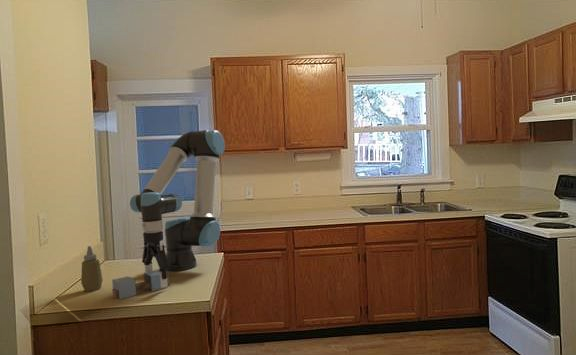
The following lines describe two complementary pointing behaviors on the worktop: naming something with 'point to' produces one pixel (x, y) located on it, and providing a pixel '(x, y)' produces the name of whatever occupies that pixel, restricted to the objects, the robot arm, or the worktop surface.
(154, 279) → the grey cube block
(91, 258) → the squeeze bottle
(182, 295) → the worktop surface
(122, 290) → the slider block
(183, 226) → the robot arm
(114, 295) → the rail
